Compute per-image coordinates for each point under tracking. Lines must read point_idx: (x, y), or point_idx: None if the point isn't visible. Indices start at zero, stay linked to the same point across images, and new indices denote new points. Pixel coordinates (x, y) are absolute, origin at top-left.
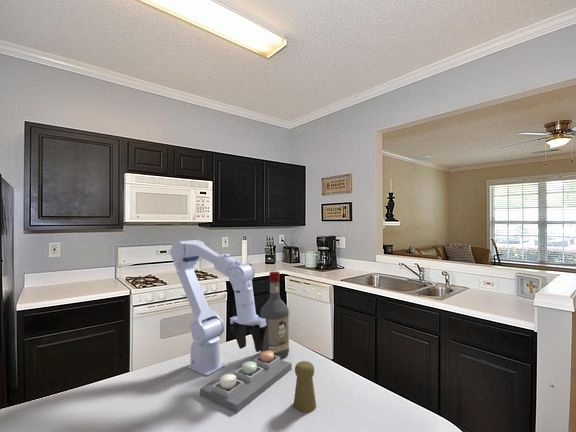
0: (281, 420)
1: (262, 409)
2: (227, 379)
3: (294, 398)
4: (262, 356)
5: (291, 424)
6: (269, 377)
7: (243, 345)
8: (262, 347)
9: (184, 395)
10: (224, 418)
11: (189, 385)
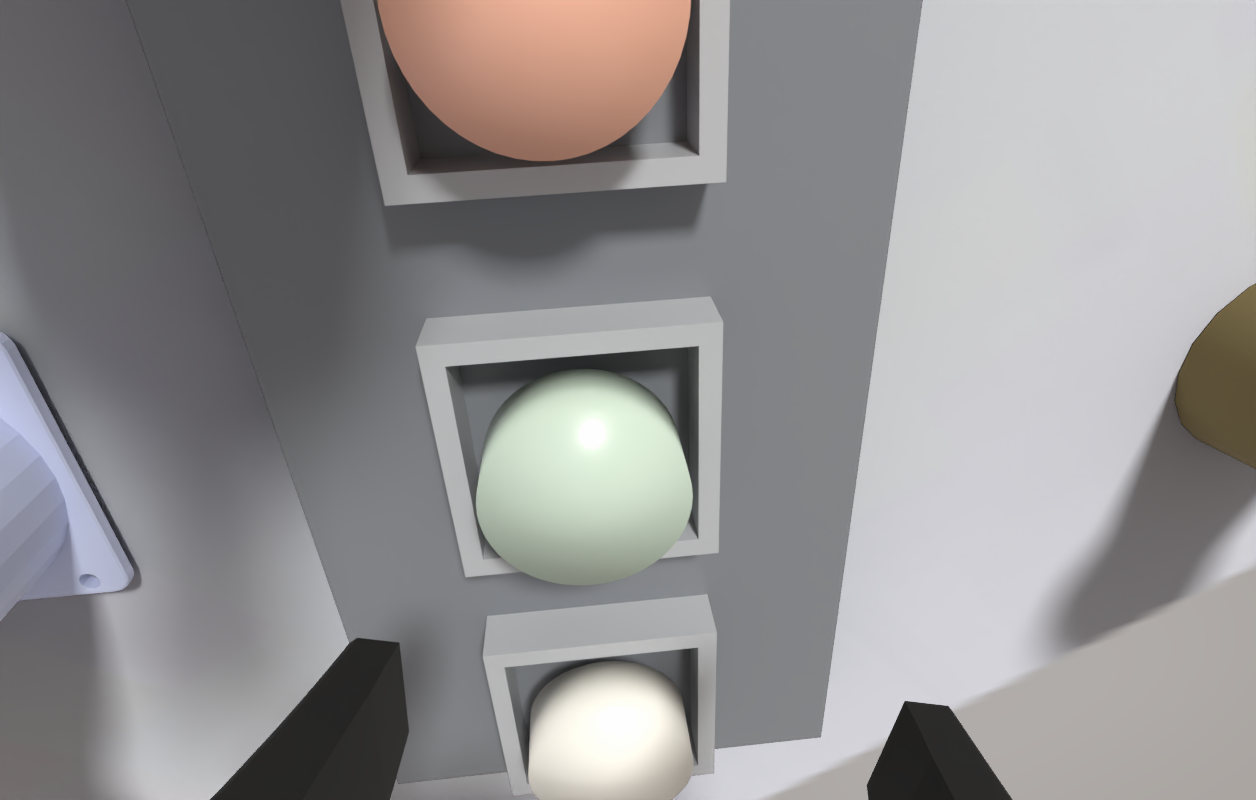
0: (1129, 577)
1: (947, 577)
2: (621, 783)
3: (1244, 454)
4: (536, 159)
5: (1209, 566)
6: (838, 329)
7: (386, 719)
8: (974, 752)
9: None
10: (763, 744)
11: (193, 715)
